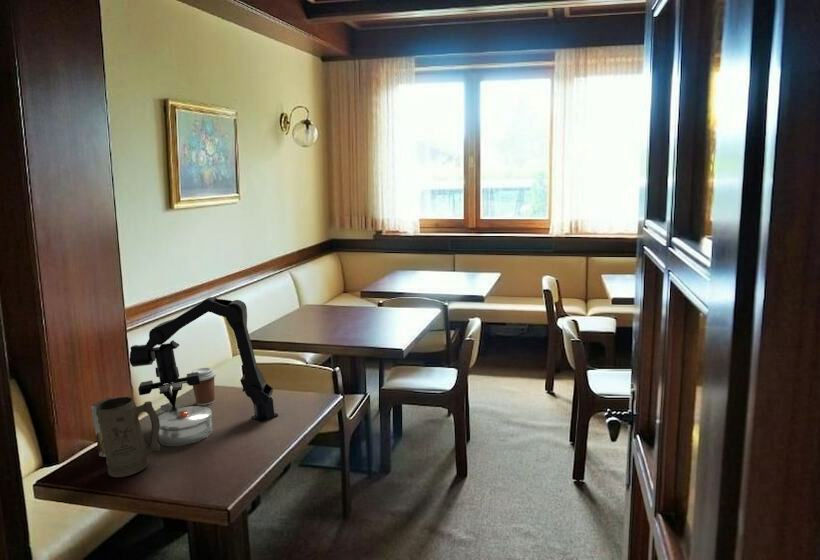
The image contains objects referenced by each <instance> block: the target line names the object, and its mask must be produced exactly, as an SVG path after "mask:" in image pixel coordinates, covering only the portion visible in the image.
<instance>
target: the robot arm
mask: <svg viewBox="0 0 820 560" xmlns="http://www.w3.org/2000/svg"><path fill="white" fill-rule="evenodd" d="M247 309H248V308H247V305H246V303H245V302H244V301H242V300H239V299H235V300H230V299H221V298H215V297H212V296H210V297H207V298H205V299H204V300H203V301H201V302H200V303H198V304H197V305H195V306H193V307H192V308H190V309H188V310H187V311H185V312H183V313H181V315H178V316H177V317H175V318H172V319H168V320H166V321H164V322H161V323H159V324H157V325H155V326H154V327H152V329H151V330H150V331H149V332H148V337H149V338H148V340H147V342H146V343H145V344H139V345H138V344H134V345H132V346H131V347H130V352H129V363H130V365H131V367H132V368H133V367H144V366H150V365H153V362H155V361H156V367H155V376H156V377H157V378H159V381H158V382H153V380H147V381H141V382H140V383H139V385H138V390H137V391H138V395H139V396H144V395H149V394H151V392H152V390H156V389H158V390H159V394H160V395H163V396H164V397H165V398H166V399H167V400H168V401H169V403H170V405H171V406H173V407H175V408H177V407H176V404H177V397H178V393H179V391H181V390H183V389H182V388H183V384H186V385H188V386H189V387H191V386H192V387H193V385H197V384H200V380H201V379H200V374H199V373H198V372H195V373H192V372H190V373H186V376H184V377H180V373H179V367H178V366H177V363H176V357H175V350H176V349H177V348H178V347H179V346H180V344H179V343H178V342H176V341H175V340H171V341H170V342H168V343H166V342H167V341H169V340H170V339H171V338H172V337H173V336H174V335H175V334H176V333H178V331H180V330H181V329H182V328H184V327H186V326H187V325H189V324H190V323H192V322H194V321H195V320H197V319H199V318H201V317H202V316H204V315H205V314H207V313H212V314H215V315H216V316H220V317H224V318H225V319H226V321H227V323H228V325H229V327H230V329H232V330H233V334H234V337H235V341H236V344H237V347H238V352H239V356H240V360H241V364H242V368H243V371H244V374H243V375H242V377H241V378H240V384H241V386H242V392H243V393H245V394H246V397H248V398H250V400H251V402H252V404H253V411H254V412H253V413H254V415H252V416H250V417H251V418H250V419H253V420H255V421H256V420H257V421H260V422H266V421H269V420H271V419H273V418H276V417H278V416H279V414H278V413H276V412H275V409H274V407H275V406H274V398H272V395H273V392H274V388H273V387H272V386H270V385H269V384H268V383H267V382H266V379H265V376H264V375H263V373H262V371H261V370H260V369H259V367H258V363H257V361H256V356H255V352H254V349H253V345H252V342H251V338H250V337H251V336H250V334H249V329H248V311H247ZM157 345H158V347H156V346H157ZM171 387H172V388H171Z"/></svg>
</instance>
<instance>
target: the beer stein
mask: <svg viewBox="0 0 820 560" xmlns="http://www.w3.org/2000/svg"><path fill="white" fill-rule="evenodd" d="M141 413H146V414H148V416H149V419H150V421H151V435H150V440H149V441H150V442H149V443H148V444H146V442H145V438H144V434H143V431H142V428H141V423H140V419H139V415H140V414H141ZM157 414H158V413H157V412H156V410H155V409H154V407H153V402H152V401H150V400H148V401H145V402H144V403H143V404H141V405H138V406H137V404H136V402H135V400H134V398H133V397H131V396H130V397H129V396H123V397H122V396H121V397H115V398H114V399H110V400H106V401H104V402H102V403H100V404H98V405H97V407H96V415H97V417H98V419H99V423H100V428H101V433H102V438H103V444H104V449H105V454H106V457H105V458H106V461H105V464H106V466H107V472H108V473H107V474H108V475H109V476H110V477H112V478H123V477H128V476H132V475H135V474H137V473H139V472H141V471H143V470H144V469H145V468H147V467H148V466H149V464H150V459H149V456H148V454H149V453H150V452H153V451H154V452H159V451H160V449H161V443H159V442H158V439H159V436H158V434H159V428H160V423H159V417H158V415H157Z"/></svg>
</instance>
